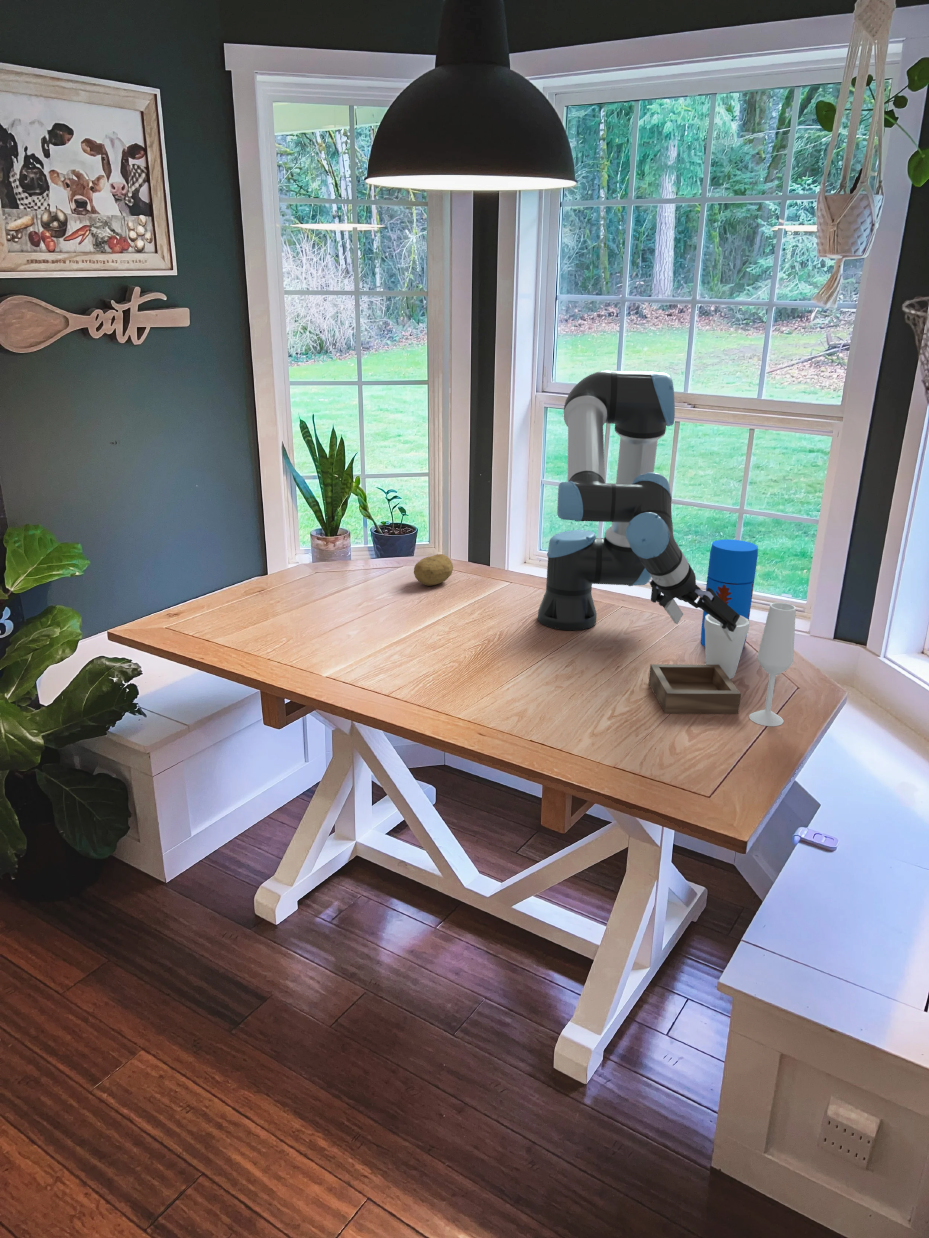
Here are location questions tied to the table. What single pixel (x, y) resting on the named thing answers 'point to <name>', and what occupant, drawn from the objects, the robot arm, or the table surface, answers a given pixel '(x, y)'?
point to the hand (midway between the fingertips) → (705, 627)
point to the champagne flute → (775, 654)
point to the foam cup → (724, 644)
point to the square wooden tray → (694, 689)
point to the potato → (433, 569)
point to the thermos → (732, 575)
